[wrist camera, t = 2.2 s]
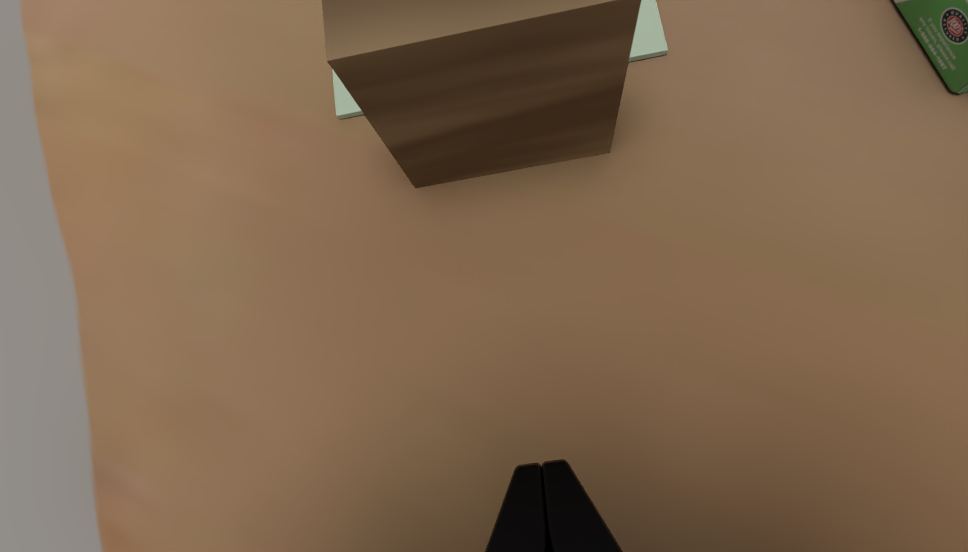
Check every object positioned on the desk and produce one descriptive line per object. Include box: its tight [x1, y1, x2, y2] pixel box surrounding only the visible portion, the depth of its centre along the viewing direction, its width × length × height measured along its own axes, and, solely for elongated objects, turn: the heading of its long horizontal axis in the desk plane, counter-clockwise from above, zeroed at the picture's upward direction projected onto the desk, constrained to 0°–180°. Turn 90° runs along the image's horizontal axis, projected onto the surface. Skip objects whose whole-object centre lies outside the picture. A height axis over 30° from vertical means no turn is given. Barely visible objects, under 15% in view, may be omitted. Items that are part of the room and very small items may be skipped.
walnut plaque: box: [322, 0, 641, 188], centre depth 18 cm, size 2×8×9 cm, turn 98°
